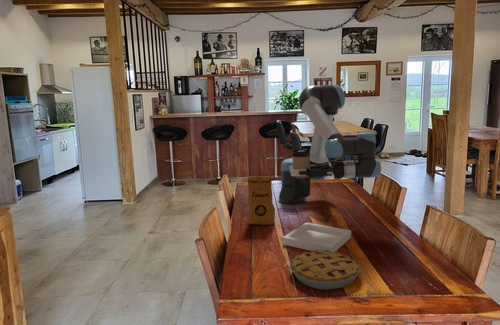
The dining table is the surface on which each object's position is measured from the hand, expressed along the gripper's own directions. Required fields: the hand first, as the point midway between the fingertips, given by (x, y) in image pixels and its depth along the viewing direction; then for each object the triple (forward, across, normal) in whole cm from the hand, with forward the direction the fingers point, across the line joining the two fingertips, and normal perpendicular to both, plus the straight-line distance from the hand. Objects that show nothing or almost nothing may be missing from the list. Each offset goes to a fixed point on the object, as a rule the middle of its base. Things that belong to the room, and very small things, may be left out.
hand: (290, 171), depth 163 cm
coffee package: (+13, +5, -25) cm, 29 cm away
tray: (-9, -18, -25) cm, 32 cm away
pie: (-7, -47, -26) cm, 54 cm away
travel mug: (-5, 0, -11) cm, 12 cm away
